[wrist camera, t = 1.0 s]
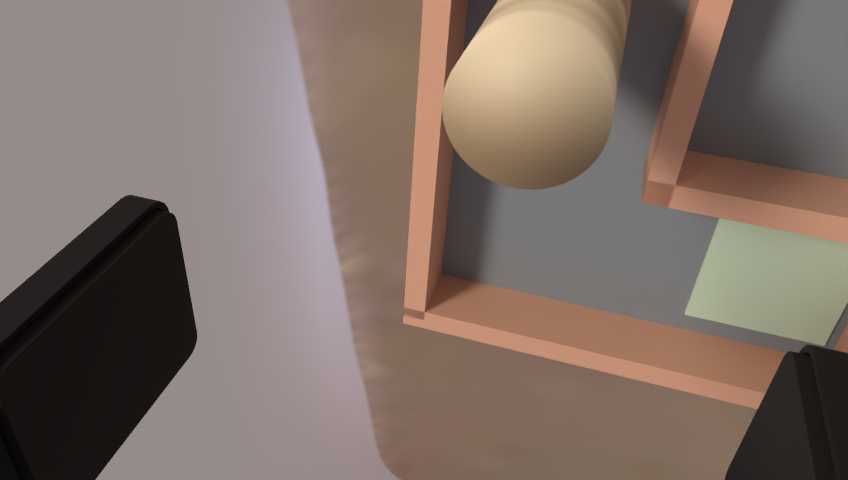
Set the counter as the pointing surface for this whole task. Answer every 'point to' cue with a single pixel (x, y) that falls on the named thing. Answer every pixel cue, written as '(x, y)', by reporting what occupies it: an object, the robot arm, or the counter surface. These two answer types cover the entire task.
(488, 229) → the track
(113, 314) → the robot arm
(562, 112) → the peg
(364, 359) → the counter surface
